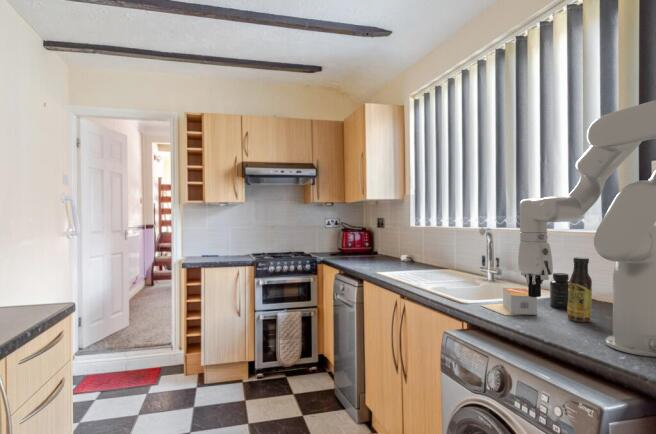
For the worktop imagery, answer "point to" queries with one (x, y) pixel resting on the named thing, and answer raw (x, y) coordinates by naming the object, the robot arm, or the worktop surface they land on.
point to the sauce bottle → (580, 292)
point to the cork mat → (499, 309)
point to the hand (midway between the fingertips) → (534, 296)
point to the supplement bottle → (559, 291)
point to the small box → (519, 301)
